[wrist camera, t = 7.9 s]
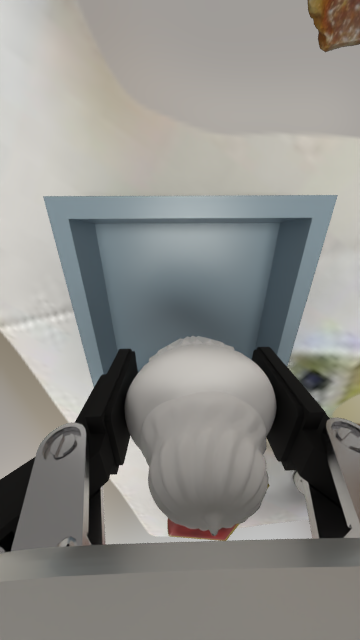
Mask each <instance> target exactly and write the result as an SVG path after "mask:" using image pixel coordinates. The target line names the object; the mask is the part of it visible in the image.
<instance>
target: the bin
mask: <svg viewBox="0 0 360 640" xmlns="http://www.w3.org/2000/svg"><path fill="white" fill-rule="evenodd" d="M337 196H338V195H278V196H43V197H44V201H45V205H46V209H47V212H48V216H49V220H50V224H51V227H52V231H53V235H54V239H55V242H56V246H57V250H58V254H59V258H60V261H61V265H62V269H63V273H64V276H65V280H66V284H67V288H68V291H69V295H70V299H71V303H72V307H73V310H74V314H75V318H76V322H77V325H78V329H79V333H80V337H81V340H82V344H83V348H84V352H85V356H86V359H87V363H88V367H89V371H90V374H91V378H92V382H93V386H94V387H95V385H96V383H97V381H98V380H99V378H100V376H101V375H102V374H107V372H108V370H109V368H110V366H111V365H112V363H113V361H114V359H115V357H116V355H117V353H118V351H119V349H131V350H132V351H135V355H136V362H137V370H138V373H139V371H140V370H141V369H142V368H143V366H144V365H146V364H147V363H148V362H149V358H151V357H152V356H154V355H155V354H157V352H158V351H159V350H160V349H162V348H164V347H166V346H167V345H169V344H171V343H173V342H175V341H176V340H178V339H180V338H181V339H184V338H186V337H187V336H188V337H191V336H195V337H197V336H200V337H205V338H209V339H212V340H216V341H220V342H223V343H224V344H225V345H228V346H232V347H234V350H235V351H237V352H240V353H242V354H243V355H245V356H246V357H248V358H249V359H251V360H252V356H253V351H254V350H256V349H257V347H270V348H271V349H272V350H273V351H274V352H275V353H276V355H277V356H278V357H279V358H280V359H281V360H282V362H283V363H284V364H285V365H286V366H287V365H288V362H289V358H290V355H291V352H292V348H293V345H294V341H295V338H296V335H297V331H298V328H299V325H300V321H301V318H302V314H303V311H304V308H305V304H306V301H307V297H308V294H309V291H310V287H311V284H312V280H313V277H314V274H315V270H316V267H317V264H318V260H319V257H320V253H321V250H322V247H323V243H324V240H325V236H326V233H327V230H328V226H329V223H330V219H331V216H332V213H333V209H334V206H335V202H336V199H337Z"/></svg>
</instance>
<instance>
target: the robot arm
mask: <svg viewBox="0 0 360 640" xmlns="http://www.w3.org/2000/svg"><path fill="white" fill-rule="evenodd" d="M252 361H253V362H255V363H256V364H257V365H258V366H259V367H260V368H261V369H262V370H263V371H264V373H265V374H266V376H267V377H268V379H269V381H270V383H271V385H272V387H273V390H274V393H275V397H276V406H277V407H276V415H275V419H274V422H273V425H272V427H271V429H270V431H269V433H268V435H267V439H268V441H269V444H270V446H271V448H272V450H273V452H274V455H275V457H276V459H277V460H278V461H281V462H282V465H283V467H284V469H285V470H297V472H296V474H295V476H294V483H295V485H296V487H297V489H298V490H299V491H300V492H301V493H302V494H304V495H305V499H306V505H307V510H308V516H309V522H310V528H311V533H312V539H276V540H240V541H203V542H170V543H142V544H141V543H140V544H111V545H105V524H104V498H103V485H104V484H105V483H106V482H107V481H108V480H109V476H110V474H117V472H118V468H119V465H123V463H124V460H125V456H126V452H127V448H128V443H129V439H130V433H129V430H128V428H127V424H126V420H125V410H124V406H125V399H126V395H127V392H128V389H129V387H130V385H131V383H132V381H133V380H134V378H135V377H136V375H137V374H138V370H137V362H136V355H135V351H132V350H131V349H119V351H118V353H117V355H116V357H115V359H114V361H113V363H112V365H111V366H110V368H109V370H108V372H107V374H102V375H101V376H100V378H99V380H98V381H97V383H96V385H95V387H94V389H93V390H92V392H91V394H90V396H89V398H88V400H87V401H86V403H85V405H84V407H83V409H82V411H81V412H80V414H79V416H78V418H77V420H76V421H75V423H68V424H65V425H62V426H60V427H58V428H56V429H55V430H53V431H52V432H51V433H49V434H48V435H47V436H46V437H45V438H44V440H43V441H42V442H41V444H40V446H39V448H38V450H37V453H36V457H35V458H33V459H31V460H30V461H28V462H27V463H25V464H24V465H22V466H21V467H19V468H17V469H16V470H14V471H13V472H11V473H10V474H8V475H7V476H5V477H4V478H2V479H1V480H0V640H360V426H359V425H357V424H355V423H353V422H351V421H348V420H345V419H342V418H331V419H330V418H329V417H328V416H327V415H326V413H325V411H324V410H323V409H322V408H321V406H320V405H319V404H318V403H317V402H316V401H315V399H314V398H313V397H312V396H311V395H310V393H309V392H308V391H307V390H306V389H305V388H304V386H303V385H302V384H301V383H300V382H299V381H298V379H297V378H296V377H295V376H294V375H293V373H292V372H291V371H290V370H289V369H288V368H287V366H286V365H285V364H284V363H283V362H282V360H281V359H280V358H279V357H278V356H277V355H276V353H275V352H274V351H273V350H272V349H271V348H270V347H257V349H256V350H254V351H253V356H252Z"/></svg>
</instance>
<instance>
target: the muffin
mask: <svg viewBox="0 0 360 640" xmlns="http://www.w3.org/2000/svg"><path fill="white" fill-rule="evenodd" d="M276 407H277V406H276V397H275V393H274V390H273V387H272V385H271V383H270V381H269V379H268V377H267V376H266V374H265V373H264V371H263V370H262V369H261V368H260V367H259V366H258V365H257V364H256V363H255V362H253V361H252V360H251V359H249V358H248V357H246V356H245V355H243V354H242V353H240V352H237V351H235V350H234V347H232V346H228V345H225V344H224V343H223V342H220V341H216V340H212V339H209V338H205V337H200V336H197V337H195V336H191V337H188V336H187V337H186V338H184V339H181V338H180V339H178V340H176V341H175V342H173V343H171V344H169V345H167V346H166V347H164V348H162V349H160V350H159V351H158V352H157V354H155V355H154V356H152V357H151V358H149V362H148V363H147V364H146V365H144V366H143V368H142V369H141V370H140V371H139V373H138V374H137V375H136V377H135V378H134V380H133V381H132V383H131V385H130V387H129V389H128V392H127V395H126V399H125V406H124V410H125V420H126V424H127V428H128V430H129V433H130V435H131V437H132V439H133V441H134V442H135V444H136V445H137V446H138V447H139V449H140V450H141V451H142V453H143V455H144V457H145V458H146V461H147V463H148V465H149V476H148V483H149V489H150V492H151V495H152V497H153V499H154V501H155V503H156V505H157V506H158V507H159V509H160V510H161V511H162V512H163V513H164V514H165V515H166V516H167V517H168V518H169V519H170V520H171V521H172V522H174V523H176V524H179V525H183V526H185V527H187V528H189V529H198V528H199V529H200V530H202V531H206V530H209V531H210V533H211V534H212V535H213V536H216V535H217V533H218V530H220V529H221V528H222V527H223V528H232V527H233V526H234V525H235V524H240V523H242V522H245V521H246V520H247V519H248V517H250V516H251V515H253V514H254V513H255V512H256V511H257V510H258V509H259V507H260V505H261V502H262V499H263V498H264V496H265V494H266V491H267V487H268V475H267V472H266V461H265V458H264V456H263V454H264V452H265V450H266V437H267V435H268V433H269V431H270V429H271V427H272V425H273V422H274V419H275V415H276Z"/></svg>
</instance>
